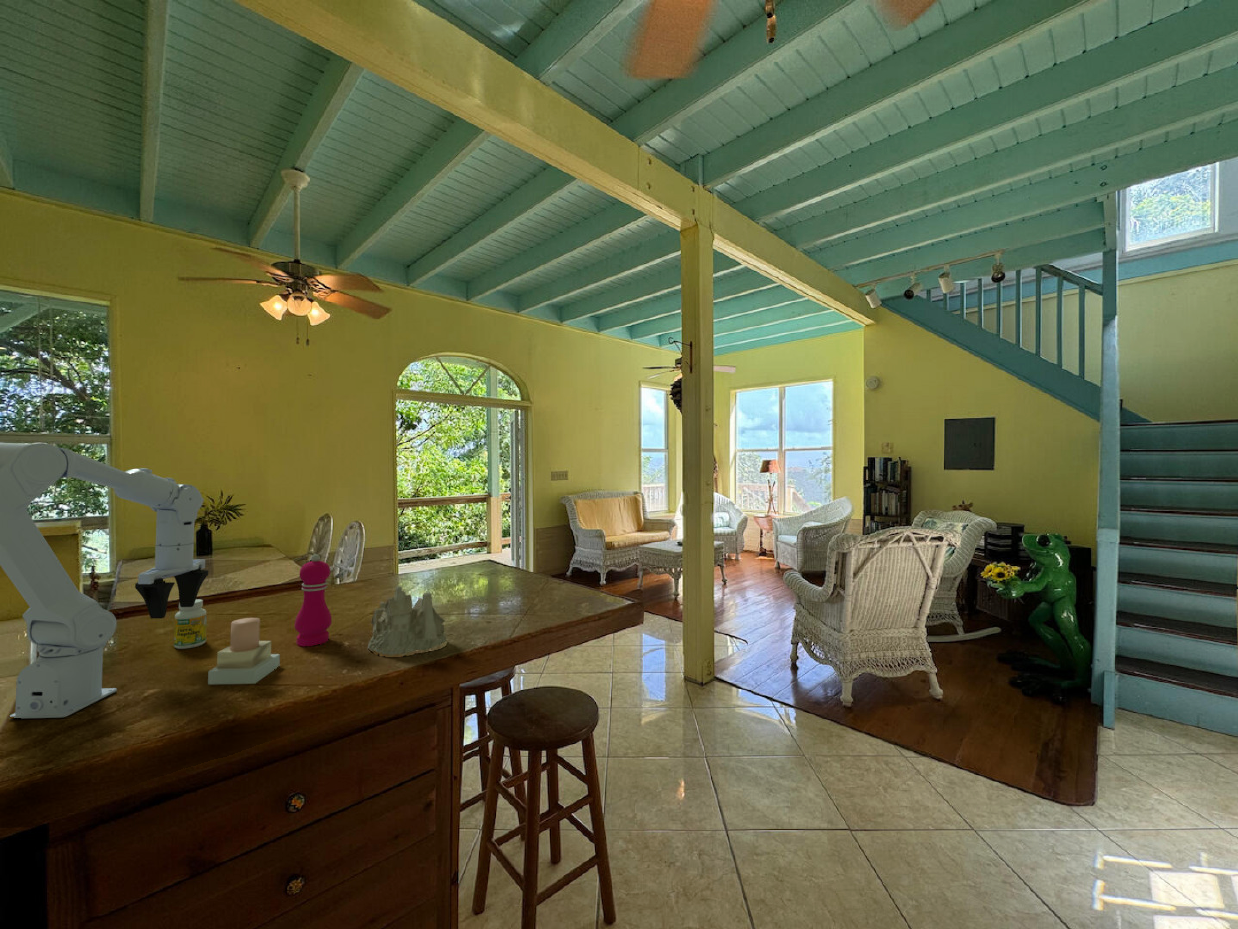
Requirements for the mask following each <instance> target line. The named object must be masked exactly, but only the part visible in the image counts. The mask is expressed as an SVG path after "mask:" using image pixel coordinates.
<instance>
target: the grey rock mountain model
mask: <svg viewBox="0 0 1238 929" xmlns="http://www.w3.org/2000/svg"><path fill="white" fill-rule="evenodd" d="M393 595H394V596H393V597H388V598H387V600H386V602H385V601H380V605H379V608H374V611H373V614H372V617H371V620H370V624H372V637H371V638H370V640H369V641H368V645H367V649H368V648H369V649H370V650H374V651H376V652H378V653H382V654H388V655H394V654H405V653H409V652H413V651H415V650H426V649H429V648H432V647H435V646H437V645H440V644H442V643H444V642H445V641H446V639H447V636H446V634H445V626H444V622H445V621H446V619H444V618H443V617H441V616H440V614H439V613H438V612H437V611H436V609H435V608H434V606H433V600H432V593H430V592H424V593H423V594H422V598H421V597H418V599H417V600H416V602H415V603H414V605H413V602H412V595H411V594H410V593H409V594H406V591H404V590H403V587H402V586H400V585H399V586H398V585H397V586H396V587H395V592H394V594H393Z"/></svg>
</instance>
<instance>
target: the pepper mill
mask: <svg viewBox="0 0 1238 929" xmlns="http://www.w3.org/2000/svg"><path fill="white" fill-rule="evenodd" d="M320 559H321V557H320V555H319V554H313V555H311V556H310V560H311V561H308V562H306V563H304V564H303V565H302V566H301V567H300V569H299V573H298V574H299V577H300V580H301V581H302V582H303V583H301V590H302V591H303V602H302V605H301V607H300V610H299V611H298V613H297V616H296V617H295V621H294V629H295V630H296V632H298V633H299V634H298V635H297V636H296V645H297V646H299V647H305V646H307V647H314V646H313V645H316V646H318V645H317V644H320V645H323V644H325V643H327V642H328V641H329V640H330V639H329V636H330V632H329V631H328V629H329V627H330V626H331V625H332V614H331V611H330V609H329V607H328V606H327V603H326V599H325V598H326V597H325V592H326V589H327V588H328V581H326V580H328V578H329V577H330V575H331V569H330V566H329V564H328V563H327V562H325V561H322V560H320ZM328 639H329V640H328ZM326 641H327V642H326ZM322 643H323V644H322Z"/></svg>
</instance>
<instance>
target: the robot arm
mask: <svg viewBox="0 0 1238 929" xmlns="http://www.w3.org/2000/svg"><path fill="white" fill-rule="evenodd" d="M60 478H73V479H77V480H80V481H84V482H88V483H92V484H95V485H99V486H103V487H107V488H112V489H113V492H114V494H115V495H116V496H117V498H119V499H123V500H125V501H129V502H133V503H137V504H140V505H144V506H147V507H149V508H150V510H152V511H153V512H156V520H155V521H156V522H155V524H156V526H155V527H156V528H155V532H156V533H155V549H154V550H155V551H154V552H155V555H154V567H152V568H150V569H148V570H146V571H143V572H140V573H138V580H137V581H138V582H135V584H134V585H135V586H134V588H135V590H136V591H137V592H138V593H139V594H140V595H141V597H142V599H143V601H144V603H145V606H146V608H147V609H146V610H147V611H148V615H149V617H150V619H155V620H156V619H164V618H165V616H166V614H167V610H168V601H169V597H170V594H171V591H172V590H173V587H174V585H175V582H172V581H171V582H170V581H169V582H167V581H166V579H168V578H172V577H173V578H174V580H175V581H176V586H177V589H178V601H179V602H178V604H179V603H180V607H193V606H194V603H195V600H196V599H197V596H198V594H199V592H200V588H201V587H202V585H203V583H204V581H205V580H206V578H207V577H208V575H209V569H205V568H206V559H205V558H204V559H203V558H200V559H199V558H198V559H197V558H195V559H194V552H195V551H194V550H195V549H194V547H195V546H194V545H195V522H196V520H197V518H198V512H199V510H200V509H201V508H202V506H203V504H204V501H205V500H204V499H205V498H204V497H202V494H201V491H200V490H199V489H198V488H197V487H195V486H194V485H192V484H180V483H177V482H176V479H175V478H171V477H161V476H159V475H157V474H154V473H153V470H152V469H149V468H147V467H146V468H145V467H144V468H143V467H140V468H133V469H132V468H131V469H129V470H125V471H124V470H121V469H118V468H116V467H113V466H111V465H108V464H106V463H103V462H100V461H98V460H96V459H94V458H91V457H88V456H86V455H83V454H81V453H78V452H75V451H73V450H71V449H69V448H65V447H58V446H55V445H53V444H51V443H50V444H49V443H46V442H33V443H19V442H18V443H17V442H16V443H13V442H1V441H0V567H1V569H2V570H3V572H4V573H5V574H6V575H7V577H8V579H9V580H10V581H11V583H12V584H13V585H14V587H15V588H16V589H17V591H18V592H19V594H20V595H21V597H22V598H23V599H24V601H25V603H26V604H27V605H28V606H29V607H28V609H26V610H25V612H24V613H23V614H22V618H23V620H24V621H25V623H26V636H27V638H28V641H30V642H31V643H32V644H34V645H36V646H37V647H36V648H37V649H36V652H37V653H39V655H38V657H37V658H36V660H35V661H33V662H31V663H30V664H29V665H27V666H25V667H23V669H21V671H20V672H19V674H18V675H17V677H16V683H15V684H16V685H15V686H16V688H15V689H16V690H15V711H14V713H12V714H10V715H9V716H10V717H14V718H21V719H47V718H48V719H50V718H51V719H53V718H65V717H68V716H70V715H72V714H74V713H77V712H78V711H80V710H82V709H84V708H86V707H89V706H90V705H91V704H94V703H96V702H98V701H100V700H102V699H104V698H105V697H108V696H110V695H112V694H114V693H116V692H117V690H118V689H117V688H116V687H112V688H111V687H110V688H109V687H108V688H105V687H104V688H103V666H104V664H103V661H104V660H103V658H104V647H106V646H107V642H108V641H109V640H111V638H112V637H113V635H114V634H115V631H116V629H117V625H118V624H117V618H116V616H115V615H114V614H113V613H112V612H111V611H110V610H106V609H105V608H103V607H102V606H100V604H99V602H98V601H97V600H95V599H94V598H92V597H90V596H88V595H86V594H84V593H82V592H81V591H80V590H78V587H76V585H75V584H74V582H73V580H72V579H71V577H70V576H69V574H68V573H67V571H66V570H65V568H64V567H63V565H62V563H61V562H60V560H59V559H58V558H57V555H56V554H55V552H54V550H52V549H53V548H52V547H51V546H50V545H49V543H48V541H47V540H46V538H45V537H44V536H43V534H42V532H41V531H40V529H39V527H38V525H36V523H35V522H34V520H33V518H32V517H31V515H30V514H29V512H28V508H29V506H30V505H31V504H32V503H33V501H35V500H36V499H37V498H38V497H39V496H40V495H41V494H43V493H44V492H45V491H46V490H48V489H49V488H50V487H51V486H52V485H53V484H54V483H56V482H57V481H58V480H59V479H60Z"/></svg>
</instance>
